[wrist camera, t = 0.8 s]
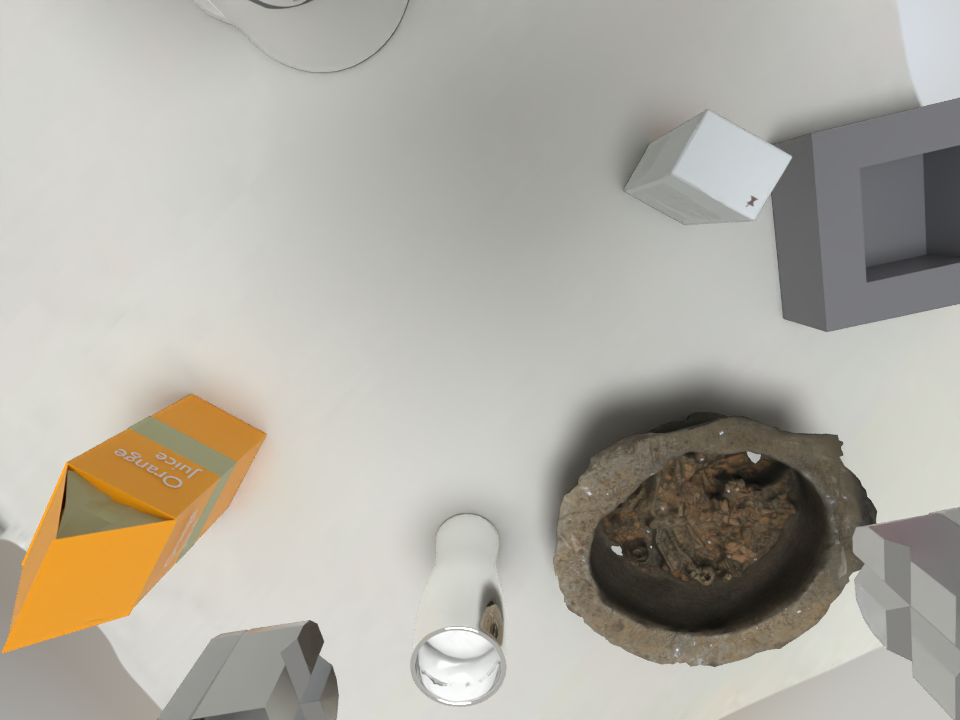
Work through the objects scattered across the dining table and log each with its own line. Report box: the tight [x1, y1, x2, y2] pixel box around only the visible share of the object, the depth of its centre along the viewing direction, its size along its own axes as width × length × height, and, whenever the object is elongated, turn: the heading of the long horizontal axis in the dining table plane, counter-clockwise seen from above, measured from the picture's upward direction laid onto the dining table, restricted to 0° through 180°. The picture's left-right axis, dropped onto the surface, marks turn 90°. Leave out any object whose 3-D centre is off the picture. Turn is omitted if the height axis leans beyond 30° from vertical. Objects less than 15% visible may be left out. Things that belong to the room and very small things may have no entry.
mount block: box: [771, 98, 960, 332], centre depth 40 cm, size 14×14×6 cm
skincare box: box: [624, 109, 792, 225], centre depth 37 cm, size 6×4×12 cm
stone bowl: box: [553, 412, 877, 667], centre depth 46 cm, size 25×25×9 cm
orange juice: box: [2, 394, 267, 653], centre depth 39 cm, size 8×9×20 cm
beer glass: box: [410, 514, 508, 707], centre depth 43 cm, size 7×7×15 cm
